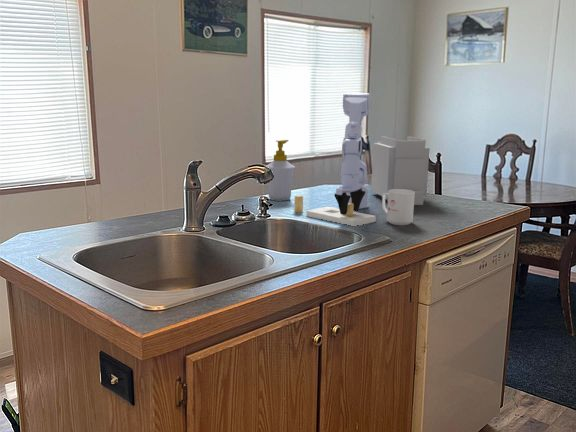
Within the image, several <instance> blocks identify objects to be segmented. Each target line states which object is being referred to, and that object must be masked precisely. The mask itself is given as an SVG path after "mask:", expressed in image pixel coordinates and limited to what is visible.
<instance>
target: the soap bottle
mask: <svg viewBox="0 0 576 432" xmlns="http://www.w3.org/2000/svg"><path fill="white" fill-rule="evenodd" d="M275 142H277V148H278V149H277V150H276V151H275V154H273V160H272V161H271V162H270V163H268V164H267V165H265V166H267V167H269V168H270V169H271V170H272V171H273V174H274V179H273V180H272V181H271V182H269V183H268V197H269V199H270V200H271V201H276V202H284V201H285V202H286V201H288V200H290V199H291V197H292V182H293V175H294V173H295V169H296V166H295V165H294V164H292V163H290V162H289V161H288V159H287V157H288V156H287V154H285V150H283V147H284V144H286V143H288V142H289V139H281V140H275Z"/></svg>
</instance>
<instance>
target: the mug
mask: <svg viewBox="0 0 576 432" xmlns="http://www.w3.org/2000/svg"><path fill="white" fill-rule="evenodd" d="M386 194H388V201H387V206H386V199H385V195H386ZM414 195H415V192H414V191H411V190H405V189H392V190H389V191H388V193H382V197H381V202H382V203H381V207H382V210H383V211H384V212H385V214H386V220H387V222H388V223H389V224H391V225H394V226H395V225H396V226H409V225H410V224H411V223H412V222H413V220H414V211H415V210H414V207H415V205H414Z"/></svg>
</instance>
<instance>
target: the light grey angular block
mask: <svg viewBox="0 0 576 432" xmlns="http://www.w3.org/2000/svg"><path fill="white" fill-rule="evenodd" d="M426 141H427V140H426V139H424V138H421V137H420V138H419V137H415V136H410V135H409V136H408V135H407V137H406V140H398V139H396V138H391V137H387V136H384V135H381V136H380V141H379V140H378V141H377V142H373V149H372V167H371V168H372V170H371V172H372V173H371V188H370V189H371V190H370V191H372V192H373V193H376V194H377V195H379V196H381V198H382V193H388V191H389V190H392V189H405V190H411V191H414V192H415V195H414V206H424V201H425V200H424V199H425V198H424V197H427V191H428V190H427V189H428V177H429V165H430V163H429V161H430V150H431V149H430V147H427V146H426V143H427V142H426ZM385 201H387V202H388V194H386V195H385Z"/></svg>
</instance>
